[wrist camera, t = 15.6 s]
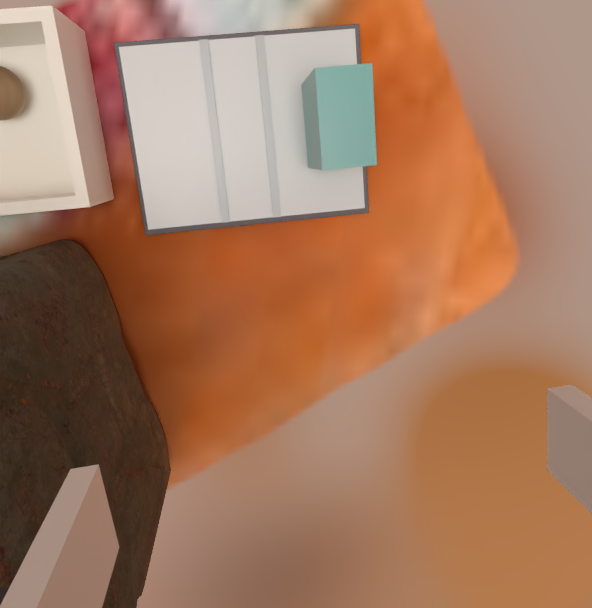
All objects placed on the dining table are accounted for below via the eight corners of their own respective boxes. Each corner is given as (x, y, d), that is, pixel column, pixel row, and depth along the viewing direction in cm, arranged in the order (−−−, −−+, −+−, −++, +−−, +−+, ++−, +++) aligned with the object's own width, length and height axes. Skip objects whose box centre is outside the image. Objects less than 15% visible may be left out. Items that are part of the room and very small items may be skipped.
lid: (150, 228, 43) (126, 246, 34) (121, 49, 40) (87, 19, 31) (362, 206, 44) (390, 219, 36) (352, 31, 41) (381, -3, 32)
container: (-32, 263, 43) (-596, 481, 14) (91, 227, 43) (-217, 369, 14) (77, 499, 49) (-159, 985, 20) (184, 466, 49) (101, 904, 20)
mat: (146, 234, 44) (145, 235, 43) (115, 44, 40) (114, 43, 39) (368, 212, 45) (369, 212, 44) (357, 25, 41) (358, 23, 41)
